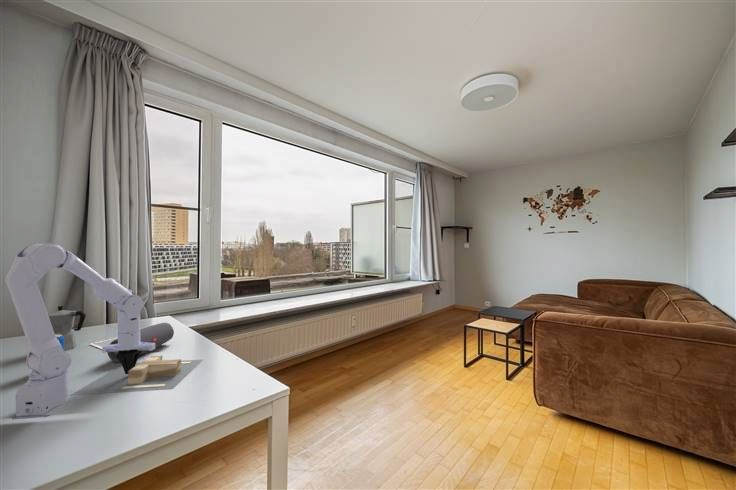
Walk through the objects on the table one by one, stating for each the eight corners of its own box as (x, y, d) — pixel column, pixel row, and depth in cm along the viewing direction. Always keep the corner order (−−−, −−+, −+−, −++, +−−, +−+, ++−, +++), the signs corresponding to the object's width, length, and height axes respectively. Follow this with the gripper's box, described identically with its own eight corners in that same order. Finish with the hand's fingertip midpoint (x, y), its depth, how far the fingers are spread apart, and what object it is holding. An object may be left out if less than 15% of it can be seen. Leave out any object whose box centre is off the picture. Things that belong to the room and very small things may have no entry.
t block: (168, 381, 92) (168, 368, 92) (128, 384, 91) (128, 371, 91) (187, 365, 104) (187, 354, 104) (151, 367, 103) (151, 356, 103)
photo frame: (154, 336, 137) (105, 349, 121) (154, 339, 137) (105, 352, 121) (138, 332, 144) (89, 343, 128) (138, 334, 144) (89, 345, 128)
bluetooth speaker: (130, 366, 106) (130, 338, 106) (105, 365, 107) (105, 338, 107) (175, 344, 129) (175, 321, 129) (155, 343, 130) (154, 321, 130)
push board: (173, 392, 88) (172, 388, 88) (70, 398, 84) (70, 394, 84) (203, 362, 110) (203, 359, 110) (123, 366, 106) (123, 362, 106)
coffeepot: (31, 354, 117) (30, 309, 117) (51, 346, 126) (51, 304, 126) (77, 351, 120) (76, 307, 120) (93, 344, 129) (93, 302, 129)
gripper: (160, 326, 101) (160, 366, 101) (113, 328, 99) (113, 368, 99) (147, 333, 94) (148, 375, 94) (97, 335, 92) (97, 378, 92)
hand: (129, 372), depth 96 cm, fingers closed
